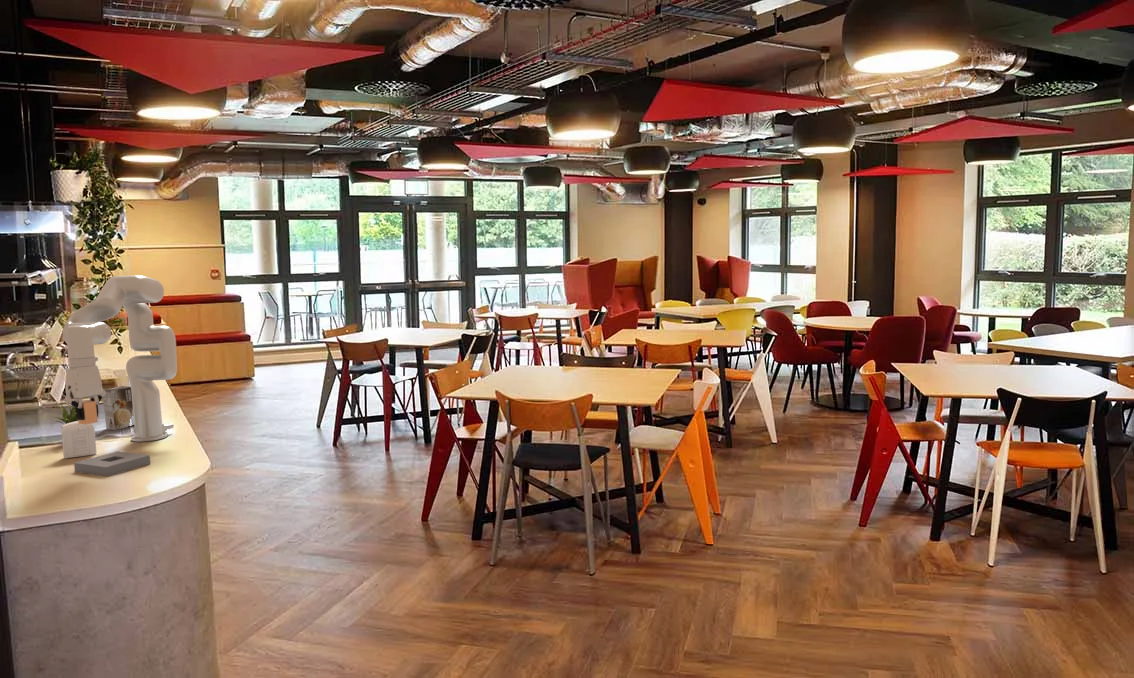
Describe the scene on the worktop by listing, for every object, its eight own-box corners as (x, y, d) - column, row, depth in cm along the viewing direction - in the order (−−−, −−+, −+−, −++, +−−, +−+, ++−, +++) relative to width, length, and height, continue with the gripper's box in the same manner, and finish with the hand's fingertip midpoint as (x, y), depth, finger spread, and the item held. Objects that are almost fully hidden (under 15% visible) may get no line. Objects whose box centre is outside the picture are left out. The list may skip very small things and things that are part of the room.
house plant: (105, 437, 342) (101, 395, 340) (87, 445, 328) (83, 402, 326) (68, 438, 341) (63, 396, 339) (48, 447, 328) (43, 403, 326)
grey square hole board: (118, 459, 305) (118, 451, 304) (150, 463, 297) (149, 455, 297) (74, 471, 290) (73, 462, 290) (106, 476, 283) (106, 467, 283)
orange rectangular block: (90, 421, 295) (88, 400, 294) (97, 422, 293) (95, 401, 292) (78, 423, 291) (76, 402, 290) (86, 424, 289) (84, 403, 288)
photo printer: (96, 452, 317) (92, 418, 315) (97, 454, 313) (94, 420, 312) (63, 457, 311) (59, 422, 310) (64, 459, 308) (60, 424, 306)
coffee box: (127, 424, 365) (123, 385, 363) (136, 425, 362) (132, 386, 360) (105, 428, 357) (101, 389, 355) (114, 430, 354) (110, 390, 352)
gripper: (99, 358, 299) (104, 412, 301) (50, 366, 284) (56, 422, 286) (113, 359, 295) (118, 413, 297) (64, 367, 280) (70, 424, 283)
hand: (87, 417), depth 292 cm, fingers closed on orange rectangular block, 4 cm apart
